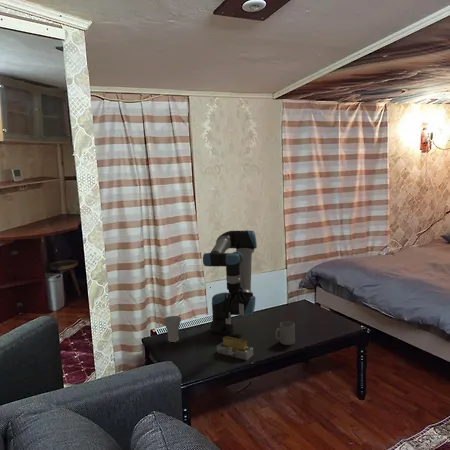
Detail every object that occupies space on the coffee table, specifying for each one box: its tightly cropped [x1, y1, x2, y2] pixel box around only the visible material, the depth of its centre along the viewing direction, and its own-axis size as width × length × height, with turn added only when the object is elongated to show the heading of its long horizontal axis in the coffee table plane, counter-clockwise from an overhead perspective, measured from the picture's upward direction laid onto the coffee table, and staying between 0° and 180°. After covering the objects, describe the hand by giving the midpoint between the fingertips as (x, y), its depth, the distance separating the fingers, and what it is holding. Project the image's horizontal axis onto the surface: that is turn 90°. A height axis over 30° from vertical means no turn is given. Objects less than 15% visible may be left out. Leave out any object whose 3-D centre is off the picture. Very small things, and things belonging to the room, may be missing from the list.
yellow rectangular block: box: [222, 335, 248, 352], centre depth 225 cm, size 14×3×7 cm, turn 56°
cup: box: [163, 315, 182, 343], centre depth 245 cm, size 10×10×14 cm
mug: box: [274, 320, 296, 346], centre depth 237 cm, size 12×8×11 cm
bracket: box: [216, 341, 254, 361], centre depth 226 cm, size 19×7×4 cm, turn 56°
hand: (235, 319), depth 226 cm, fingers open, 13 cm apart
